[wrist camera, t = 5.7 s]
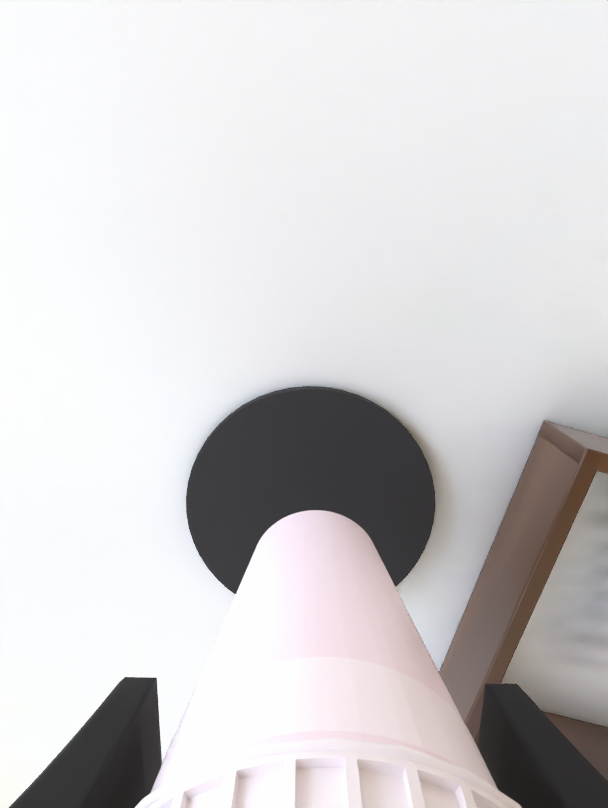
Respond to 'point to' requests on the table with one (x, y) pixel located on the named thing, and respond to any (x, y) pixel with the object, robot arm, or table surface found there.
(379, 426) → the coaster
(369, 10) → the table surface
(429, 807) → the smoothie
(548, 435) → the box
